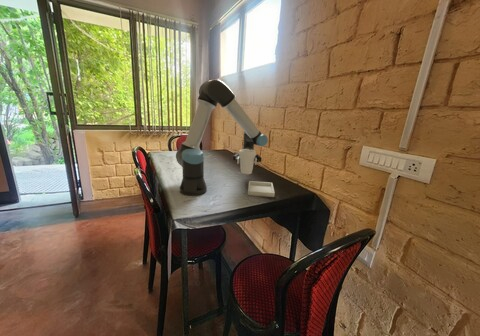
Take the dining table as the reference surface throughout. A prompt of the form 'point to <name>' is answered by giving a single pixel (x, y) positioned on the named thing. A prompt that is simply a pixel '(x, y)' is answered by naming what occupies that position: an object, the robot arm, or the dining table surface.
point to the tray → (261, 189)
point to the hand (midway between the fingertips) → (246, 161)
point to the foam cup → (247, 160)
